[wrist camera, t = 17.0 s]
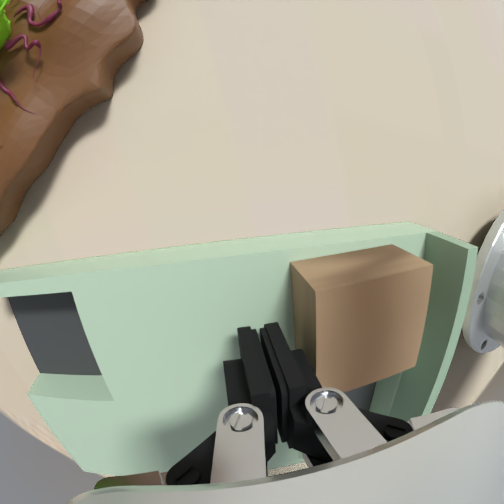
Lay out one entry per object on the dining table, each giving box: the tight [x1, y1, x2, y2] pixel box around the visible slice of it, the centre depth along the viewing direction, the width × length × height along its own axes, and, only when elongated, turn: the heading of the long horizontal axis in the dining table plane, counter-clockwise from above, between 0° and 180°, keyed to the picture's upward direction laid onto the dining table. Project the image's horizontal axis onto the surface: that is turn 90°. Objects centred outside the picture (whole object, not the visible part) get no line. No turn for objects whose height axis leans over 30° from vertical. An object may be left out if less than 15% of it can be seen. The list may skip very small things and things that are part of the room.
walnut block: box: [290, 244, 433, 392], centre depth 11 cm, size 5×5×3 cm
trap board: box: [0, 222, 478, 476], centre depth 13 cm, size 24×16×6 cm, turn 94°
